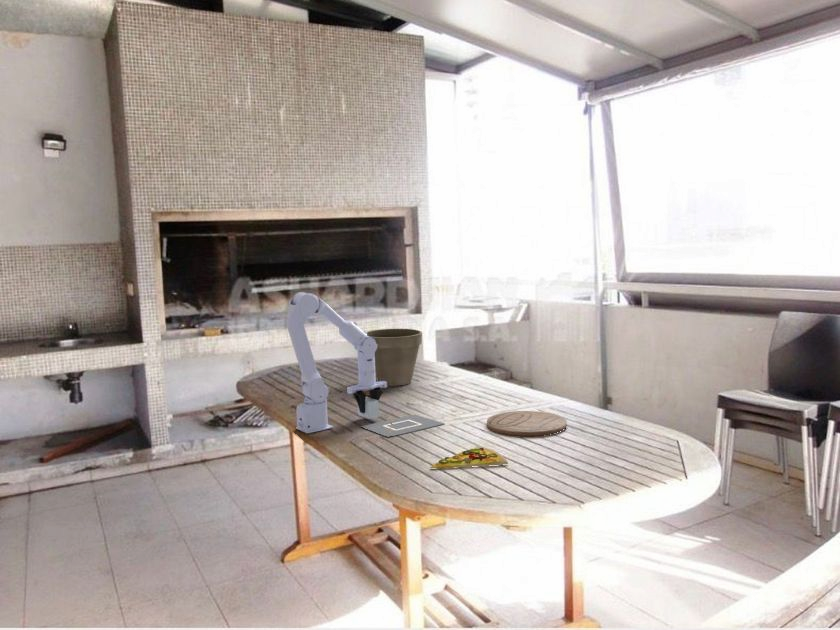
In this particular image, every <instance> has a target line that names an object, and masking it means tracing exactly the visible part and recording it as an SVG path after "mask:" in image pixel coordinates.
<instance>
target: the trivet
mask: <svg viewBox="0 0 840 630" xmlns="http://www.w3.org/2000/svg"><path fill="white" fill-rule="evenodd" d="M566 426H567V427H568V423H567V419H566V418H564V417H563V416H561V415H559V414H555V413H550V412H545V411H544V412H543V411H534V410H519V411H518V410H517V411H516V410H515V411H507V412H502V413H501V412H500V413H496V414H494V415H491V416H489V417H488V418H487V420H486V427H487V429H488V430H489V431H491V432H493V433H494V434H499V435H503V436H510V437H515V436H520V437H519V438H536V437H535V436H542V437H545V436H544V435H549V436H551V435H550V434H554V433H557V432H560V431H562V430H563V429H565V428H566ZM566 429H567V428H566ZM566 429H565V430H566ZM562 432H563V431H562ZM554 435H555V434H554Z"/></svg>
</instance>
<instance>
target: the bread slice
mask: <svg viewBox="0 0 840 630" xmlns="http://www.w3.org/2000/svg"><path fill="white" fill-rule="evenodd" d="M375 376H376V382H379V378H378V374H377V372H376V371H375ZM363 392H364V393H365V394H366V397H370V393H369V390H367V391H363Z"/></svg>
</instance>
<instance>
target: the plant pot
mask: <svg viewBox="0 0 840 630" xmlns="http://www.w3.org/2000/svg"><path fill="white" fill-rule="evenodd" d="M366 332H367V336H369V337H372V338H373V339H374V340H375V341H376V344H377V349H376V351H375V371H376V372H377V374H378V378H379V382H380V381H385V382H387V387H401V386H400V385H402V386H406V384H407V385H409V384H411V382H412V381H413V376H414V372H415V368H416V363H417V358H418V355H419V349H420V345H421V344H422V343H423V340H422V339H423V332H422V330H419V329H413V328H381V329H380V328H379V329H374V330H373V329H372V330H369V331H366ZM398 385H399V386H398Z"/></svg>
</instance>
